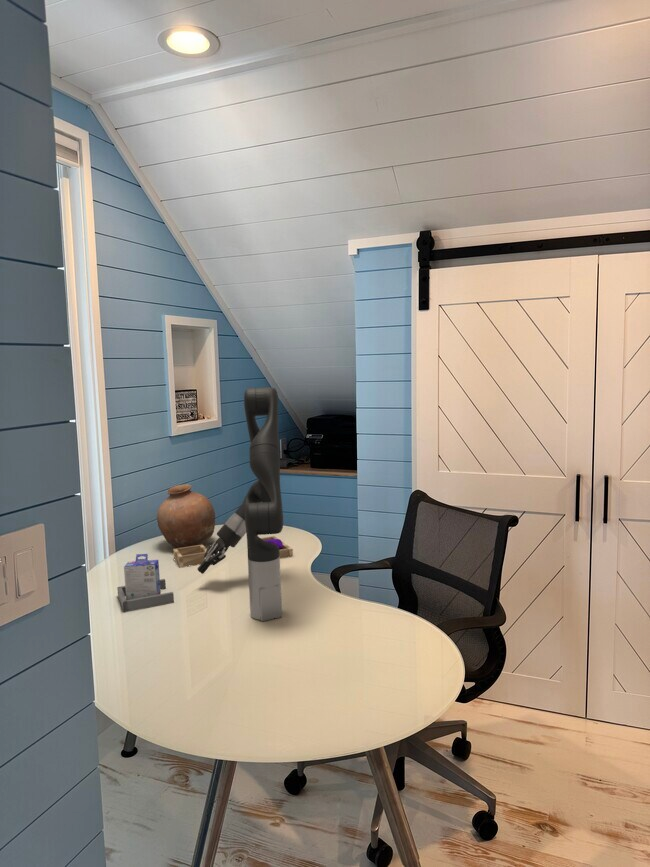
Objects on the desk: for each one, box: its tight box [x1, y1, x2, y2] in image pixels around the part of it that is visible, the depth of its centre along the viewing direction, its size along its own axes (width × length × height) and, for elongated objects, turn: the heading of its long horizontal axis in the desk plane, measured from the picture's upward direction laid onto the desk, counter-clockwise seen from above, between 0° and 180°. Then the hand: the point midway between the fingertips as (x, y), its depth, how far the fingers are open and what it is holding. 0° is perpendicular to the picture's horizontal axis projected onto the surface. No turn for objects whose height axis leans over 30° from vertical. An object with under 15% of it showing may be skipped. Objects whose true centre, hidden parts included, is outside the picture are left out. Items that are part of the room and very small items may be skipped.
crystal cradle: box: [260, 535, 294, 559], centre depth 234 cm, size 20×10×3 cm, turn 26°
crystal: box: [265, 538, 283, 550], centre depth 235 cm, size 5×5×15 cm
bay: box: [117, 578, 175, 613], centre depth 190 cm, size 14×15×3 cm
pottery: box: [156, 484, 216, 548], centre depth 244 cm, size 23×23×25 cm
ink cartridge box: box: [123, 553, 162, 600], centre depth 189 cm, size 10×6×14 cm, turn 95°
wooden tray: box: [172, 544, 207, 568], centre depth 226 cm, size 11×11×4 cm
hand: (199, 571), depth 197 cm, fingers closed
